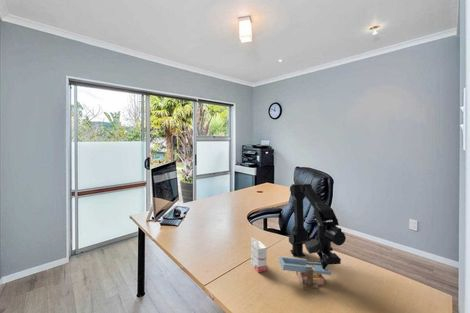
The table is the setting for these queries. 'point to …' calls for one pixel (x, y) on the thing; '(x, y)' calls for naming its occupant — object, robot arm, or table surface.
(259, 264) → the ink cartridge box
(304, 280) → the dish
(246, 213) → the table surface
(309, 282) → the stand
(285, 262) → the lever
